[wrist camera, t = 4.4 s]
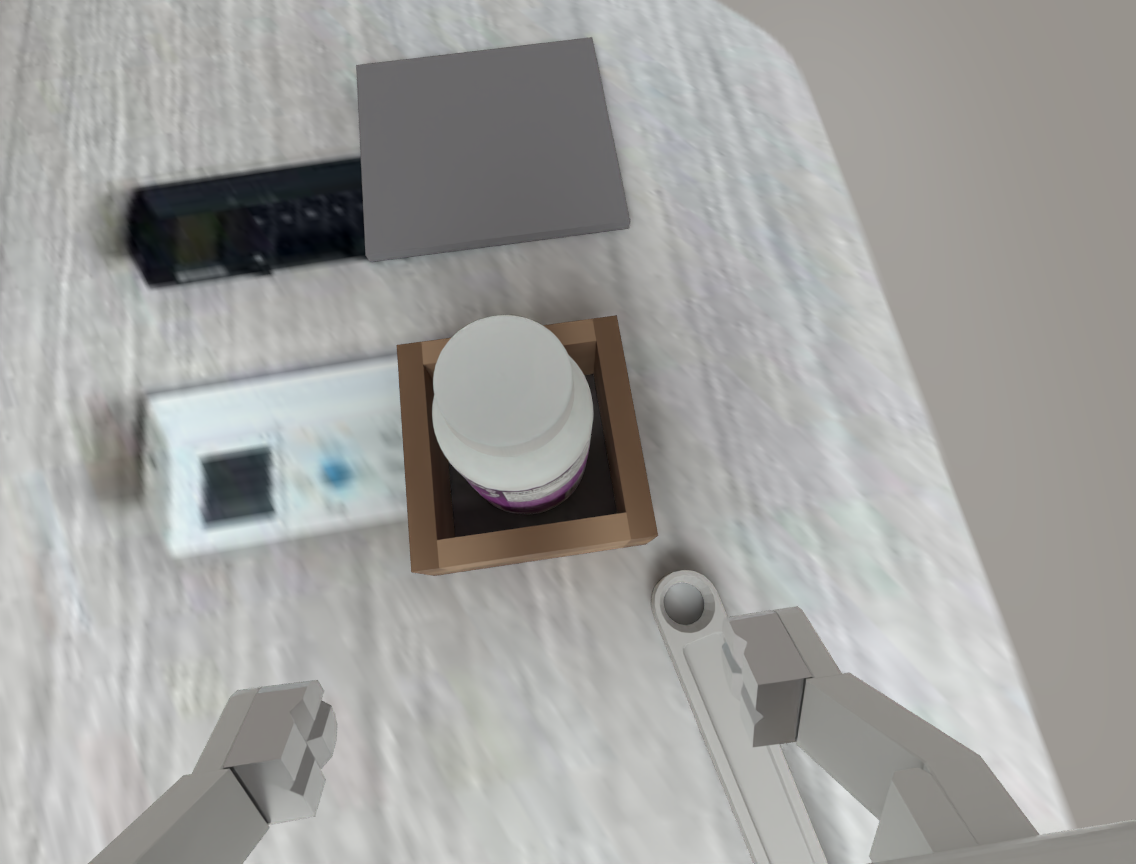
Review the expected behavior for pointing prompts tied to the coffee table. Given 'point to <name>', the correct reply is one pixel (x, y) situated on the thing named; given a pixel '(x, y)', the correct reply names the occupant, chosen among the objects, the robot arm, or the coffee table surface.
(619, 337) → the walnut collar
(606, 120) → the charcoal mat
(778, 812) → the adjustable wrench
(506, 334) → the pill bottle
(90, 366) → the coffee table surface
